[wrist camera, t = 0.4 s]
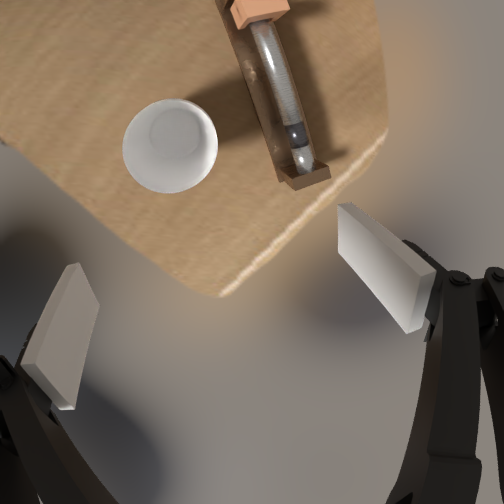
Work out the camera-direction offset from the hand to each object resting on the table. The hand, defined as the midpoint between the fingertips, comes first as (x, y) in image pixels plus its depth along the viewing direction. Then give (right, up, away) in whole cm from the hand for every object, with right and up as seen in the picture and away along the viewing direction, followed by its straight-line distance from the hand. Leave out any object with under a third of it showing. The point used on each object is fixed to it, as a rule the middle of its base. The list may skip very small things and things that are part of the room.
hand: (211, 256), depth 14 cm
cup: (-8, +15, +21) cm, 27 cm away
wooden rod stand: (+4, +22, +20) cm, 30 cm away
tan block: (+2, +28, +13) cm, 31 cm away
